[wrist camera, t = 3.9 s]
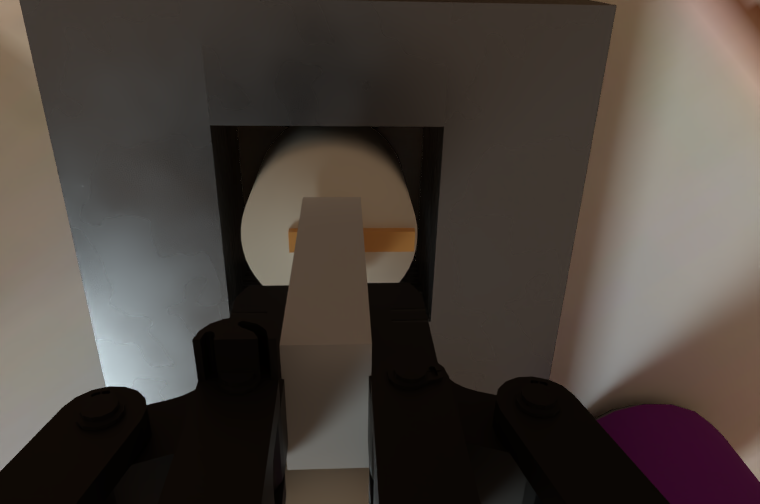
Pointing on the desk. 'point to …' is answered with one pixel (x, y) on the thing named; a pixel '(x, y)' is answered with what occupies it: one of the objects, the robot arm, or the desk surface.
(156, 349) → the mount plate
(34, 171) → the desk surface
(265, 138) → the desk surface
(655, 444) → the beverage can
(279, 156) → the knob
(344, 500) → the knob
